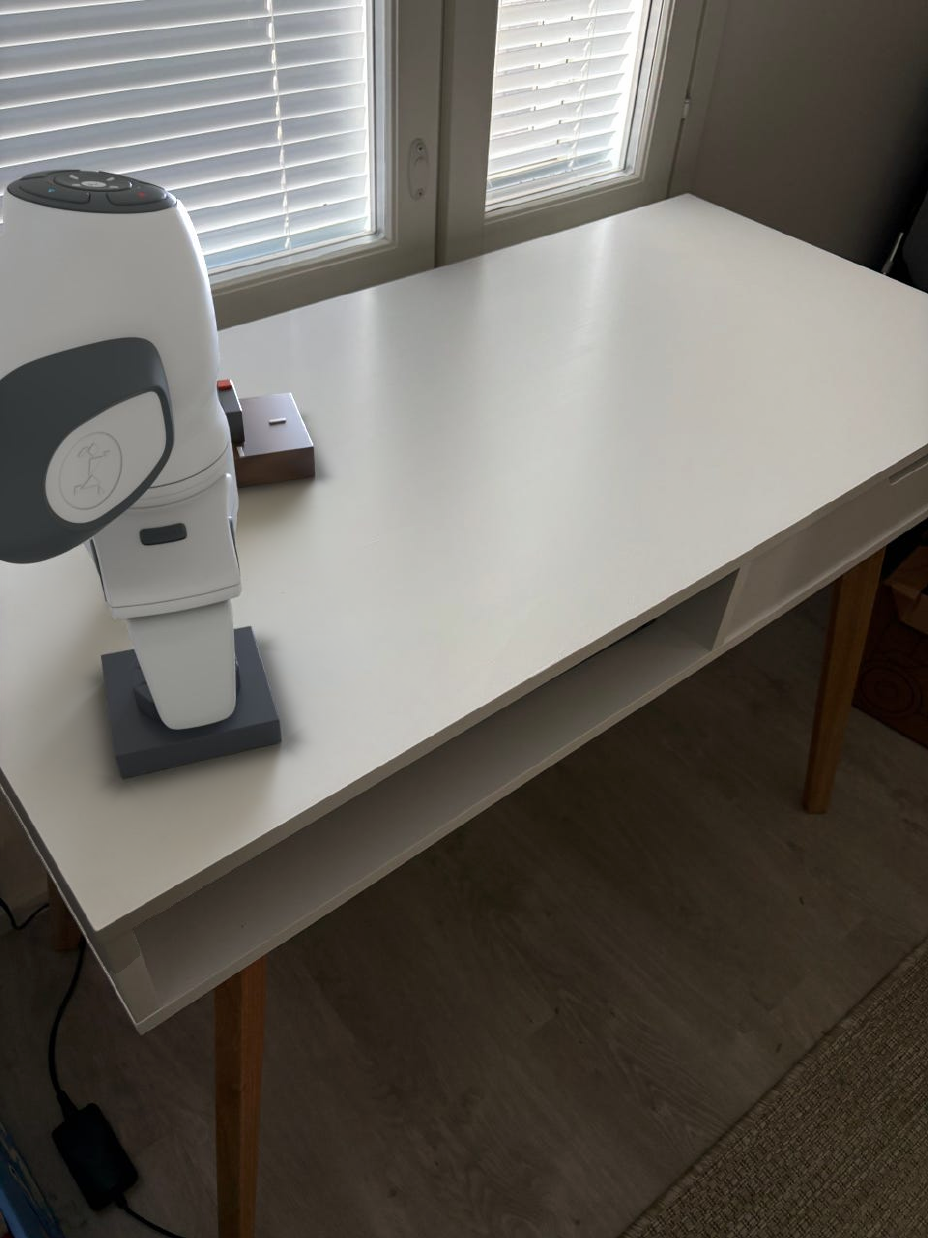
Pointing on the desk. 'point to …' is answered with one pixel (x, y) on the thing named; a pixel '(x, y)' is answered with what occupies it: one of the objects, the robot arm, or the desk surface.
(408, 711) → the desk surface
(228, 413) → the dial knob
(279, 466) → the dial panel
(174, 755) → the button block
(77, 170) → the robot arm
